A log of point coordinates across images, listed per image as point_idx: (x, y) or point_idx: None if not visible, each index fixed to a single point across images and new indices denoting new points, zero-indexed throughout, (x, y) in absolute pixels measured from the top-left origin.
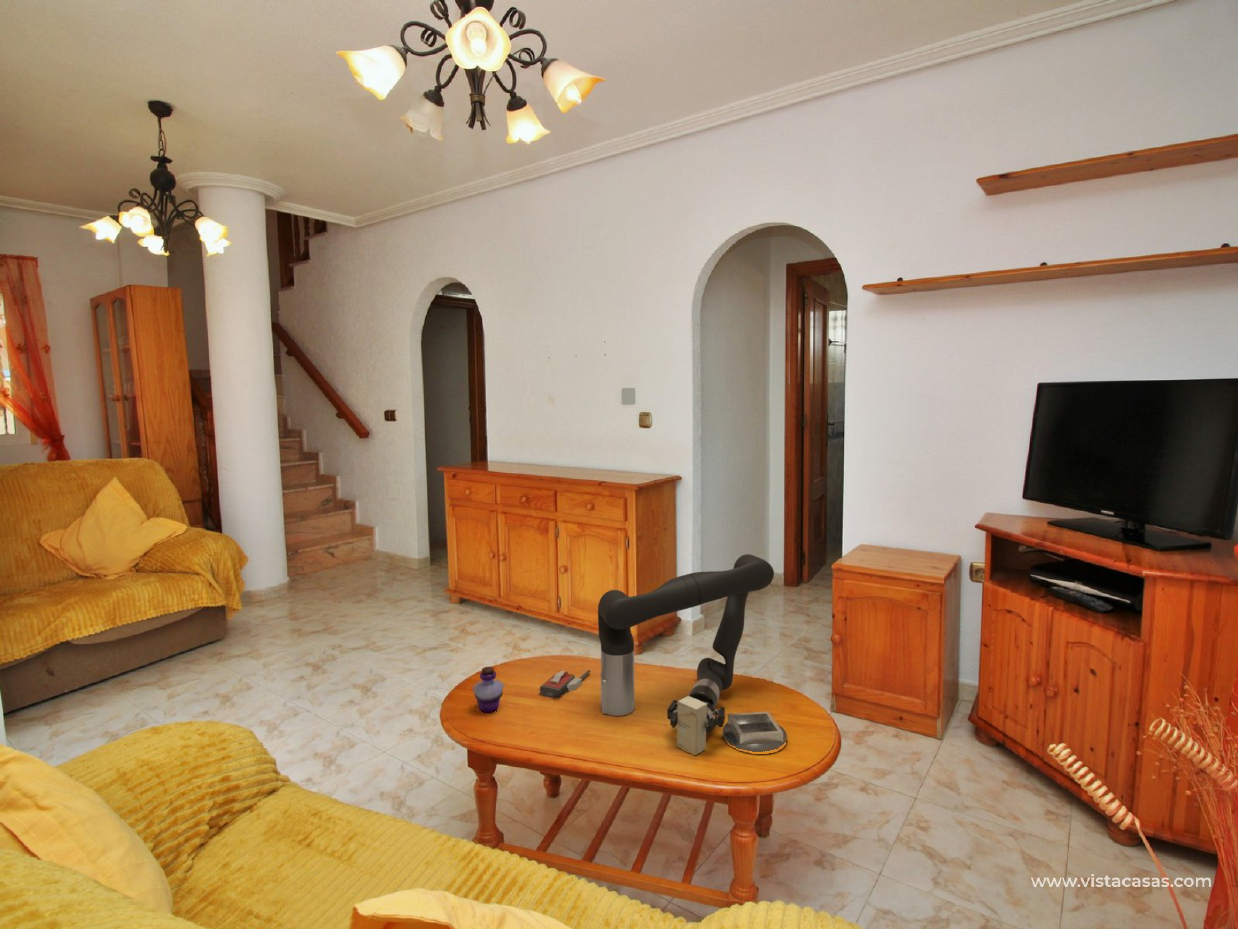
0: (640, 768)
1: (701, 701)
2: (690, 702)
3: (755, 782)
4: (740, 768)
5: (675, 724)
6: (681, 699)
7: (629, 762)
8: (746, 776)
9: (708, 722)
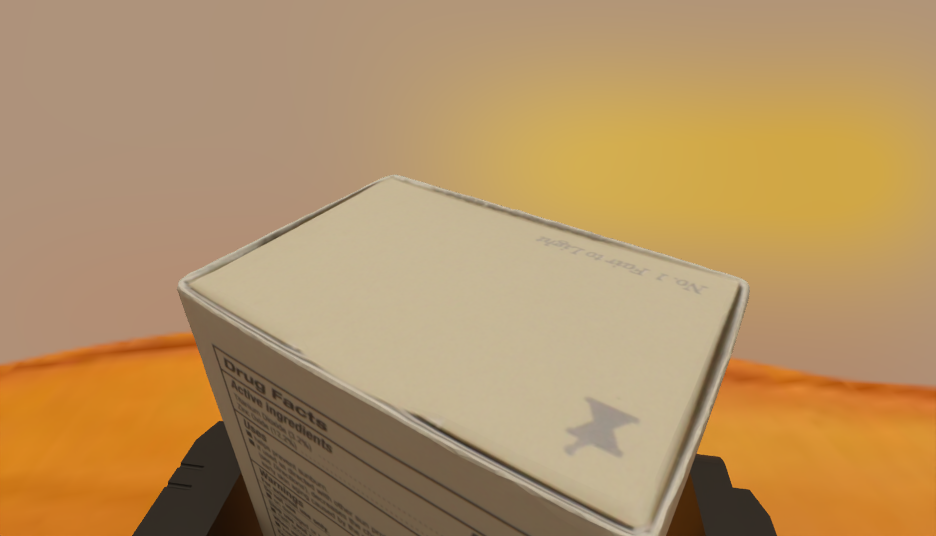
0: (725, 379)
1: (269, 339)
2: (503, 273)
3: (86, 352)
4: (103, 456)
5: (672, 531)
6: (724, 346)
7: (823, 418)
8: (109, 389)
9: (234, 453)
